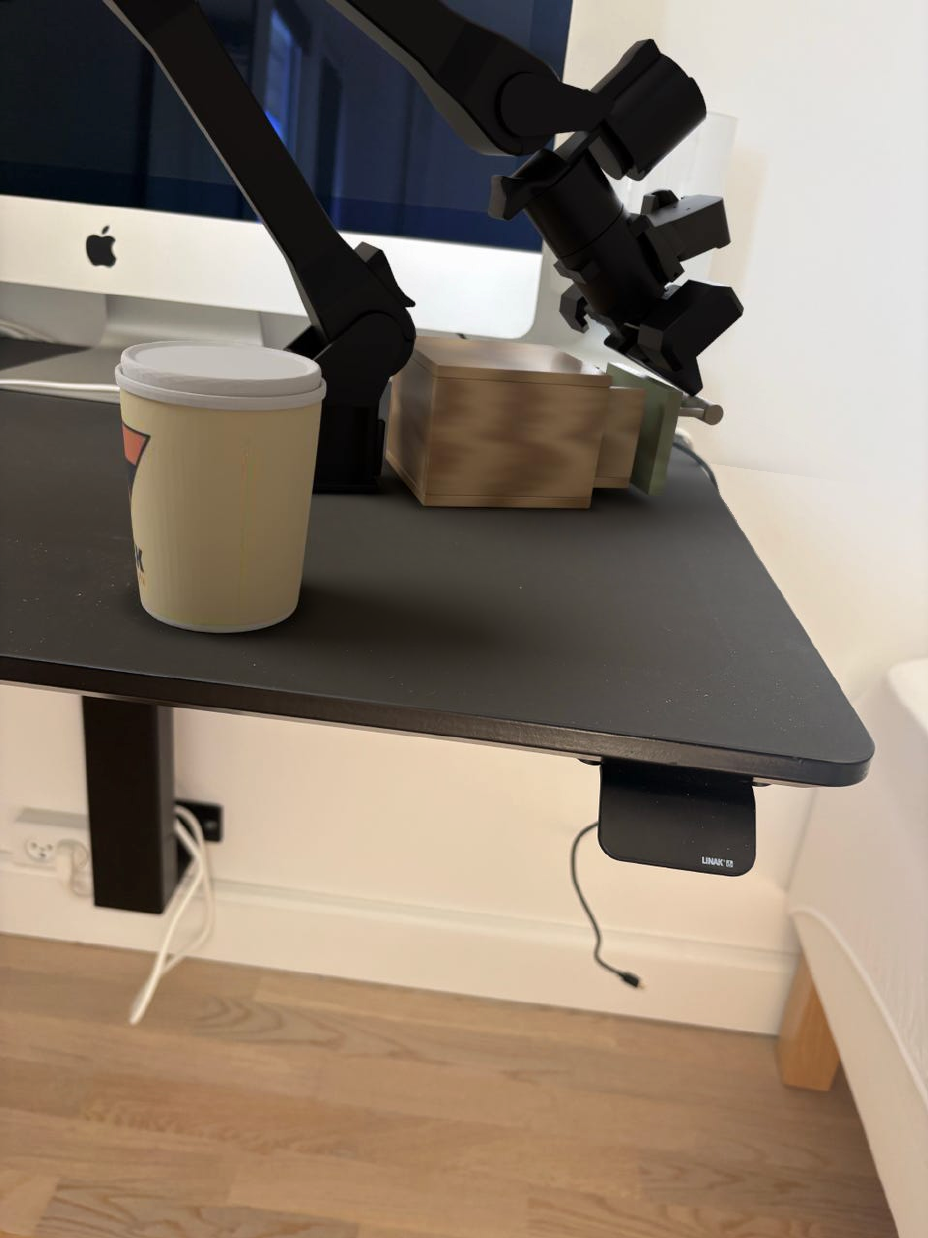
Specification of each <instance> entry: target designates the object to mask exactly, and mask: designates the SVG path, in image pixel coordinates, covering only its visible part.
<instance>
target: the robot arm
mask: <svg viewBox="0 0 928 1238" xmlns="http://www.w3.org/2000/svg"><path fill="white" fill-rule="evenodd" d="M102 2H103V3H104V4H105V6H107V7H108V8H109V9H110V11H112V13H113V14H115V15H116V17H117V18H118V19H119V20H120V22H122V23H123V24H124V25H125V26H126V28H128V29H129V31H130V32H131V33H132V34H133V35H134V36H135V37H136V38H137V39H138V40H139V41H140V42H141V44H142V45H144V47H145V48H146V49H147V50H148V52H150V54H151V55H152V57H153V58H154V60H155V61H156V63H157V64H158V66H159V67H160V69H161V71H162V72H163V73H164V75H165V76H166V78H167V79H168V81H169V83H170V84H171V85H172V87H173V89H174V90H175V92H176V93H177V95H178V96H179V98H180V99H181V101H182V102H183V104H184V106H185V107H186V109H187V111H188V112H189V113H190V115H191V116H192V118H193V119H194V122H195V123H196V124H197V125H198V127H199V130H201V132H202V133H203V135H204V137H205V138H206V139H207V141H208V143H209V144H210V146H211V147H212V149H213V150H214V152H215V153H216V155H217V157H218V158H219V159H220V161H221V163H222V164H223V166H224V167H225V169H226V170H227V172H228V173H229V175H230V176H231V178H232V179H233V181H234V182H235V184H236V185H237V187H238V188H239V190H240V192H241V193H242V195H243V197H244V198H245V199H246V201H247V203H248V204H249V206H250V208H251V209H252V210H253V212H254V214H255V215H256V216H257V218H258V220H259V221H260V222H261V224H262V225H263V227H264V228H265V230H266V232H267V234H268V235H269V236H270V238H271V239H272V241H273V242H274V245H276V247H277V249H278V250H279V252H280V253H281V256H282V257H283V258H284V261H285V263H286V265H287V268H288V270H289V272H290V275H291V277H292V280H293V282H294V285H295V288H296V291H297V293H298V296H299V298H300V301H301V303H302V306H303V308H304V311H305V313H306V315H307V317H308V319H309V321H310V324H309V325H308V326H307V327H306V328H305V329H304V330H303V331H301V332H300V333H299V334H298V335H297V336H296V337H295V338H294V339H292V340H291V341H290V342H289V343H288V344H287V345H286V346H285V347H284V348H283V349H282V351H286V352H290V353H294V354H298V355H301V356H303V357H306V358H309V359H311V360H312V361H314V362H316V363H317V364H318V365H319V366H320V368H321V377H322V378H323V379H324V380H325V382H326V395H325V397H324V398H323V399H322V404H321V417H320V426H319V436H318V446H317V454H316V463H315V471H314V480H313V488H312V491H337V492H338V491H341V492H342V491H345V492H378V491H380V482H379V481H378V480H377V478H379V477H380V476H381V475H382V471H383V459H384V447H385V435H386V434H385V433H386V421H385V420H384V418H383V417H382V416H381V415H380V414H379V413H380V403H381V402H380V401H381V399H382V396H383V395H384V392H385V389H386V388H387V385H388V383H389V381H390V379H391V378H392V377H393V376H394V375H396V374H397V373H398V372H399V371H400V370H401V369H402V368H403V367H404V366H406V364H407V362H408V360H409V359H410V357H411V355H412V353H413V349H414V344H415V340H416V337H417V336H418V335H417V329H416V325H415V323H414V320H413V318H412V315H411V313H410V311H409V310H408V309H407V308H415V307H416V305H417V304H416V301H415V300H413V299H412V298H411V297H409V296H408V295H407V294H406V293H405V292H404V291H403V289H402V288H401V287H400V286H399V284H398V282H397V280H396V277H395V275H394V272H393V270H392V267H391V264H390V262H389V260H388V257H387V256H386V253H385V252H384V250H383V249H382V248H379V247H377V246H375V245H372V244H370V243H368V242H366V241H363V240H362V241H360V243H358V244H357V246H355V247H354V248H353V247H352V246H351V245H350V244H349V243H348V242H347V241H346V240H345V239H344V238H343V236H342V235H341V234H340V233H339V232H338V229H336V228H335V227H336V226H334V224H333V222H332V220H331V219H330V218H329V216H328V213H326V211H325V210H324V207H323V206H322V204H321V202H320V201H319V200H318V198H317V196H316V195H315V193H314V191H313V189H312V188H311V186H310V185H309V183H308V181H307V179H306V177H304V175H303V173H302V171H301V170H300V168H299V166H298V165H297V163H296V162H295V159H294V158H293V156H292V155H291V154H290V151H289V150H288V148H287V147H286V145H285V144H284V142H283V140H282V138H281V136H280V135H279V134H278V132H277V130H276V128H275V127H274V126H273V123H272V122H271V121H270V119H269V117H268V116H267V114H266V112H265V111H264V109H263V107H262V106H261V104H260V102H259V100H258V99H257V97H256V96H255V94H254V92H253V91H252V89H251V88H250V86H249V84H248V83H247V81H246V79H245V78H244V76H243V75H242V73H241V72H240V70H239V68H238V66H237V64H236V63H235V62H234V60H233V59H232V57H231V55H230V53H229V52H228V50H227V48H226V46H225V44H224V43H223V42H222V40H221V38H220V37H219V35H218V33H217V32H216V30H215V28H214V27H213V25H212V24H211V22H210V21H209V19H208V17H207V16H206V13H205V11H204V10H203V7H202V5H201V3H200V0H102ZM325 2H327V3H329V5H331V6H332V7H333V8H334V9H335V10H336V11H338V12H339V13H340V14H341V15H343V16H344V17H345V18H346V19H347V20H349V21H350V22H351V23H352V24H354V25H355V26H356V27H357V28H358V29H359V30H361V31H362V32H363V33H364V34H365V35H366V36H368V37H369V38H370V39H371V40H373V42H375V43H376V44H377V45H379V47H381V48H382V49H383V50H385V51H386V52H387V53H388V54H389V55H391V56H392V57H393V58H394V59H395V60H397V61H398V62H399V64H401V65H402V66H404V67H405V68H406V70H407V71H408V72H409V73H410V75H411V76H412V77H413V78H414V79H415V80H416V81H417V83H418V84H419V86H420V87H421V89H422V90H423V92H424V93H425V95H426V97H427V98H428V100H429V101H430V102H431V104H432V106H433V107H434V109H436V111H437V112H438V113H439V115H441V117H442V118H443V119H444V121H446V123H447V124H448V125H449V126H450V127H451V129H452V130H453V131H454V132H455V133H456V134H457V136H458V137H459V138H460V139H461V140H462V141H463V143H464V144H466V145H467V146H468V147H469V148H470V149H472V150H474V151H475V152H477V153H479V154H481V155H485V156H494V157H495V156H496V157H517V158H519V157H526V156H531V157H529V158H528V159H527V160H526V162H524V163H523V164H522V165H521V166H520V167H519V168H518V169H517V170H516V171H515V172H514V173H513V174H512V175H510V176H507V175H502V174H494V175H492V176H491V178H490V183H491V195H490V199H489V203H488V208H487V215H488V216H489V217H490V218H492V219H496V220H500V221H506V222H510V221H512V220H513V219H514V218H515V217H517V216H518V215H519V214H520V213H521V211H523V212H524V214H525V215H526V217H527V218H528V219H529V221H530V222H531V224H532V225H533V227H534V228H535V229H536V231H537V232H538V234H539V236H541V238H542V240H543V241H544V242H545V244H546V245H547V246H548V248H549V249H550V251H551V253H552V254H553V255H554V256H555V258H556V261H555V262H554V263H553V264H552V266H553V267H554V269H555V271H556V272H557V273H558V275H559V276H560V277H562V278H566V279H569V280H571V282H573V283H571V285H569V286H568V288H567V289H565V291H563V293H561V295H560V301H559V308H558V312H559V313H560V315H561V316H562V318H563V319H564V321H565V322H566V323H567V325H568V326H569V328H570V329H571V330H573V331H576V332H579V333H581V334H586V333H587V332H588V331H589V330H590V326H589V323H588V321H587V319H586V318H585V317H586V316H588V317H589V318H590V320H593V321H595V322H596V323H597V324H598V325H600V326H604V328H605V329H606V331H607V332H608V333H609V335H607V336H606V337H605V339H604V340H603V345H604V346H605V347H606V348H607V349H610V350H612V351H614V352H615V353H617V354H619V355H620V356H622V357H624V358H625V359H628V360H629V361H630V362H632V363H634V364H636V365H637V366H639V367H641V368H643V370H646V371H647V372H649V373H652V374H653V375H655V376H656V377H658V378H660V379H662V380H663V381H665V382H666V383H667V384H670V386H675V387H676V388H678V389H680V390H681V391H683V392H685V393H686V394H688V395H690V396H696V395H698V394H699V393H700V392H701V391H702V390H703V389H704V383H703V380H702V374H701V371H700V367H699V363H698V357H699V356H700V355H701V354H703V352H705V350H706V349H708V347H710V346H711V345H712V344H713V343H714V342H715V341H716V340H717V339H718V338H719V337H720V336H722V335H723V334H724V333H725V332H726V331H727V330H728V329H729V328H730V327H732V326H733V325H734V324H735V323H736V322H737V321H738V320H739V319H740V318H741V317H742V316H743V314H744V310H745V307H744V306H743V304H742V302H741V300H740V299H739V297H738V296H737V294H736V292H735V291H734V289H733V287H732V286H731V285H727V284H722V283H718V282H714V281H709V280H706V279H695V278H694V279H693V278H688V279H687V280H686V281H685V282H684V283H683V284H682V285H680V284H675V283H674V282H675V281H676V280H678V279H679V278H680V277H681V276H682V275H684V273H685V272H686V270H685V268H684V267H683V265H682V264H681V263H683V262H686V261H689V260H691V259H693V258H695V257H697V256H700V255H702V254H705V253H707V252H710V251H711V250H713V249H716V250H721V249H723V248H725V247H727V246H728V245H730V244H731V243H732V238H731V234H730V227H729V223H728V216H727V211H726V205H725V200H724V197H723V196H720V195H710V194H709V195H708V194H693V195H683V196H681V197H680V199H679V198H678V197H677V195H676V194H675V193H674V191H673V190H672V189H668V188H657V189H654V190H652V191H649V192H647V193H645V194H643V195H642V201H641V206H640V211H639V213H635V212H630V211H629V210H628V208H627V207H626V205H625V203H624V202H623V200H622V199H621V197H620V196H619V194H618V193H617V191H616V189H615V188H614V187H613V185H612V183H611V182H610V180H609V179H608V177H610V178H612V179H613V180H615V181H621V180H622V179H624V178H625V177H627V178H629V179H630V180H632V181H635V182H641V181H643V180H644V179H645V178H647V177H648V176H649V175H650V174H651V173H652V172H654V170H655V169H656V168H657V167H658V166H660V164H661V163H663V162H664V161H665V159H667V158H668V157H669V156H670V155H671V154H672V153H673V152H674V151H675V150H676V149H678V147H680V146H681V145H682V144H683V143H684V142H685V141H686V140H687V139H688V138H689V137H690V136H691V135H692V134H694V132H696V131H697V130H698V129H699V128H700V127H701V126H702V125H703V124H704V123H705V121H706V119H707V114H708V110H707V105H706V104H707V103H706V101H705V97H704V95H703V93H702V91H701V88H700V86H699V85H698V83H697V81H696V79H695V78H693V77H692V76H689V75H688V74H687V72H686V71H685V70H684V69H683V68H682V67H681V66H680V65H679V64H678V63H677V62H676V61H675V60H673V59H672V58H671V57H669V56H668V55H667V54H664V53H662V51H661V50H660V49H659V47H658V45H657V43H656V41H655V39H654V38H646V39H641V40H636V41H635V42H634V43H633V44H632V45H631V46H630V47H629V48H627V50H626V51H625V52H624V53H623V55H622V56H621V58H620V59H619V60H618V62H617V63H616V64H615V66H614V67H612V68H611V69H610V70H609V71H608V72H607V73H606V74H605V75H604V76H603V77H602V78H601V79H600V80H599V81H598V82H597V83H595V85H594V86H592V87H591V88H590V90H589V88H581V87H578V86H574V85H571V84H568V83H565V82H562V81H561V80H560V77H559V75H558V73H557V72H556V71H555V70H554V68H553V67H552V66H551V64H550V63H549V62H548V61H546V60H545V59H544V58H543V57H540V56H539V55H537V54H535V52H533V51H531V50H529V49H527V48H526V47H524V46H522V45H521V44H520V43H518V42H516V41H515V40H513V39H511V38H510V37H508V36H506V35H505V34H503V33H501V32H498V31H496V30H494V29H492V28H490V27H488V26H485V25H483V24H481V23H479V22H476V21H474V20H472V19H470V18H468V17H467V16H465V15H463V14H461V13H459V12H458V11H457V10H454V9H453V8H451V7H450V6H449V5H448V4H447V3H446V2H444V1H443V0H325ZM570 133H572V134H571V135H570V136H569V137H568V138H567V139H566V140H565V141H563V143H562V144H560V145H559V146H558V147H557V148H556V149H554V150H552V149H550V148H547V147H546V146H547V145H548V144H549V142H550V141H551V140H552V139H553V138H554V137H555V136H556V135H559V134H570ZM607 175H608V177H607ZM670 283H671V284H670ZM668 284H669V285H668Z"/></svg>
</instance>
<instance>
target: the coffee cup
mask: <svg viewBox="0 0 928 1238" xmlns="http://www.w3.org/2000/svg"><path fill="white" fill-rule="evenodd" d="M114 378H115V383H116V385H117V386H118V387H119V403H120V413H121V414H120V415H121V425H122V435H123V436H122V437H123V445H124V457H125V467H126V468H125V469H126V477H127V479H126V480H127V487H128V498H129V506H130V517H131V527H132V535H133V536H132V537H133V544H134V545H133V546H134V555H135V565H136V572H137V580H138V588H139V595H140V596H139V597H140V602H141V604H142V607H143V608H144V610H145V611H146V612H147V613H148V614H149V615H150V616H151V617H152V618H154V619H156V620H157V621H159V622H162V623H164V624H166V625H169V626H171V627H175V628H179V629H182V630H189V631H193V632H201V633H203V632H204V633H214V634H215V633H216V634H220V633H221V634H226V633H227V634H228V633H242V632H250V631H255V630H256V631H257V630H260V629H265V628H268V627H270V626H274V625H276V624H278V623H281V622H283V621H285V620H286V619H288V618H289V617H290V616H291V615H292V614H293V613H294V612H295V610H296V608H297V605H298V603H299V597H300V589H301V583H302V579H303V578H302V577H303V569H304V562H305V552H306V546H307V545H306V544H307V537H308V528H309V520H310V514H311V506H312V505H311V504H312V498H313V497H312V496H313V490H312V488H313V480H314V471H315V463H316V454H317V446H318V436H319V426H320V417H321V404H322V399H323V398H324V397H325V395H326V382H325V380H324V379H323V378H322V377H321V368H320V366H319V365H318V364H317V363H316V362H314V361H312V360H311V359H309V358H306V357H303V356H301V355H298V354H294V353H290V352H286V351H283V349H276V348H271V347H266V346H258V345H251V344H244V343H235V342H225V341H224V342H223V341H211V340H210V341H209V340H164V341H163V340H162V341H153V342H144V343H140V344H135V345H132V346H128V347H127V348H125V349H124V350H123V351H122V353H121V356H120V363H118V364H117V365H116V366H115V369H114Z"/></svg>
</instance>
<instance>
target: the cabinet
mask: <svg viewBox="0 0 928 1238" xmlns="http://www.w3.org/2000/svg"><path fill="white" fill-rule="evenodd" d="M591 365H592V364H589V363H587V362H585V361H583V360H580V359H579V358H577V357H575V356H573V355H570V353H566V352H565V351H563V350H561V349H559V348H556V347H555V346H553V345H549V344H537V343H523V342H509V341H495V340H481V339H470V338H469V339H468V338H453V337H442V336H441V337H439V336H426V335H417V337H416V340H415V344H414V349H413V353H412V355H411V357H410V359H409V360H408V362H407V364H406V366H404V367H403V368H402V369H401V370H400V371H399V372H398V373H397V374H396V375H394V376H392V377H391V378H392V380H391V389H390V401H389V402H390V403H389V413H388V414H389V415H388V426H387V437H386V438H387V439H386V450H385V460H386V461H387V462H388V463H389V465H390V466H391V467H392V468H393V469H394V471H395V472H396V474H397V475H398V476H399V477H400V479H401V480H402V481H403V482H404V483H405V485H406V486H407V487H408V488H409V490H410V491H411V492H412V494H413V495H414V496H415V498H416V499H417V500H418V501H419V502H420V504H421V505H422V506H423V507H454V508H455V507H461V508H462V507H463V508H464V507H465V508H466V507H467V508H521V509H522V508H525V509H526V508H528V509H529V508H530V509H531V508H532V509H533V508H534V509H535V508H536V509H590V506H591V501H592V495H593V489H594V487H593V484H594V478H595V473H596V467H597V461H598V456H599V450H600V444H601V439H602V433H603V427H604V422H605V416H606V410H607V405H608V399H609V393H610V387H611V383H612V377H613V376H611V375H609V374H607V373H606V371H603V370H601V369H600V368H599V369H597V368H595V367H593V366H591Z"/></svg>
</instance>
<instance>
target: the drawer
mask: <svg viewBox="0 0 928 1238" xmlns="http://www.w3.org/2000/svg"><path fill="white" fill-rule="evenodd" d="M590 365H591V366H593V367H595V368H597V369H599V370H600V366H598V365H593V364H590ZM605 373H607V374H609V375H611V376H613V377H612V383H611V387H610V393H609V399H608V405H607V410H606V416H605V422H604V427H603V433H602V439H601V444H600V450H599V456H598V461H597V467H596V473H595V478H594V484H593V488H597V489H599V488H600V489H629V488H630V484H631V485H632V486H634V487H635V488H636V489H638V490H640V491H641V492H643V493H644V494H645V495H646V496H652V497H653V496H663V493H664V487H665V482H666V479H667V473H668V467H669V463H670V459H671V454H672V449H673V444H674V439H675V434H676V431H677V424H678V420H679V417H680V418H681V417H682V418H683V417H684V418H695V419H697V420H699V421H700V422H703V423H705V424H707V425H708V426H716V425H718V424H719V423H720V422H721V421H722V420H723V418H724V414H725V413H724V408H723V407H722V406H721V405H720V404H718V403H716V402H713V401H712V400H709V399H706V398H705V397H702V396H700V395H698V394H697V395H696V396H690V395H688V394H686V393H685V392H683V391H681V390H680V389H678V388H676V387H675V386H673V385H671V384H670V385H669V384H668V383H665V382H663V381H660V380H659V379H656V378H654V377H652V376H650V375H648V374H646V373H643V372H641V371H640V370H637V369H635V368H632V367H630V366H628V365H626V364H623V363H622V362H613V361H612V362H610V361H608V362H607V365H606V370H605Z"/></svg>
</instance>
